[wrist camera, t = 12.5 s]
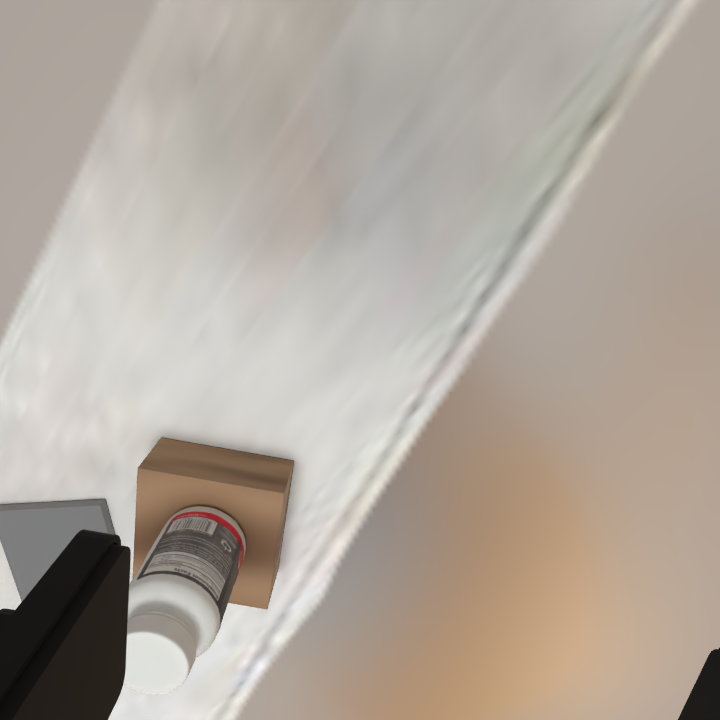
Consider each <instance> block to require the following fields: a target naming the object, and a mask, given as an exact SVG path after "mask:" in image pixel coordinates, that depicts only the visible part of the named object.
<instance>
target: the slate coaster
mask: <svg viewBox="0 0 720 720" xmlns="http://www.w3.org/2000/svg"><path fill="white" fill-rule="evenodd" d="M83 529H85V530H91V531H96V532H102V533H108V534H114V535H115V532H114V529H113V525H112V521H111V518H110V514H109V510H108V507H107V503H106V499H96V500H78V501H60V502H41V503H23V504H5V505H0V540H1V543H2V546H3V549H4V552H5V555H6V558H7V560H8V563H9V566H10V569H11V572H12V575H13V578H14V580H15V583H16V586H17V589H18V592H19V595H20V598H21V600H22V601H23V600H24V599H25V598H26V596H27V595H28V594H29V593H30V591H31V590H32V589H33V588H34V586H35V585H36V584H37V583H38V581H39V580H40V579H41V578H42V576H43V575H44V574H45V573H46V571H47V570H48V569H49V568H50V566H51V565H52V564H53V563H54V561H55V560H56V559H57V558H58V556H59V555H60V554H61V553H62V551H63V550H64V549H65V548H66V546H67V545H68V544H69V543H70V541H71V540H72V539H73V538H74V536H75V535H76V534H77V533H78V532H79V531H80V530H83Z"/></svg>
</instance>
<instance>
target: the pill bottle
mask: <svg viewBox="0 0 720 720" xmlns="http://www.w3.org/2000/svg"><path fill="white" fill-rule="evenodd" d="M245 551H246V542H245V537H244V534H243V532H242V530H241V529H240V527H239V525H238V524H237V522H236V521H235V520H234V519H232V518H231V517H230V516H228V515H227V514H225V513H223V512H222V511H219V510H217V509H214V508H210V507H202V506H196V507H189V508H186V509H183V510H180V511H179V512H177V513H176V514H174V515H173V516H172V517H171V518H170V519H169V520H168V521H167V523H166V524H165V526H164V527H163V529H162V530H161V532H160V534H159V536H158V537H157V539H156V541H155V542H154V544H153V545H152V547H151V549H150V551H149V552H148V554H147V556H146V558H145V560H144V562H143V564H142V565H141V567H140V569H139V570H138V572H137V574H136V575H135V577H134V578H133V580H132V582H131V583H130V585H129V601H128V624H127V647H126V670H125V678H124V683H123V684H124V685H125V686H127V687H129V688H131V689H133V690H135V691H138V692H141V693H145V694H152V695H159V694H165V693H168V692H171V691H173V690H175V689H177V688H178V687H180V686H181V685H182V684H183V683H184V681H185V680H186V679H187V677H188V675H189V673H190V670H191V668H192V665H193V663H194V661H195V658H196V657H198V656H200V655H201V654H202V653H204V652H205V651H206V650H207V649H208V648H209V647H210V646H211V644H212V643H213V641H214V639H215V637H216V635H217V633H218V631H219V629H220V625H221V622H222V619H223V615H224V613H225V610H226V607H227V604H228V601H229V598H230V595H231V593H232V590H233V587H234V584H235V582H236V579H237V576H238V573H239V571H240V568H241V565H242V562H243V559H244V555H245Z"/></svg>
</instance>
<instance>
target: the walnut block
mask: <svg viewBox="0 0 720 720" xmlns="http://www.w3.org/2000/svg"><path fill="white" fill-rule="evenodd" d="M293 465H294V461H292V460H286V459H281V458H275V457H269V456H263V455H258V454H252V453H246V452H241V451H235V450H229V449H223V448H218V447H212V446H206V445H201V444H195V443H189V442H183V441H178V440H172V439H166V438H161V439H160V440H159V441H158V443H157V444H156V445H155V447H154V448H153V449H152V450H151V452H150V453H149V454H148V456H147V457H146V458H145V459H144V461H143V462H142V463H141V465H140V466H139V467H138V475H137V496H136V518H135V540H134V562H133V578H134V577H135V575H136V574H137V572H138V570H139V569H140V567H141V565H142V564H143V562H144V560H145V558H146V556H147V554H148V552H149V551H150V549H151V547H152V545H153V544H154V542H155V541H156V539H157V537H158V536H159V534H160V532H161V530H162V529H163V527H164V526H165V524H166V523H167V521H168V520H169V519H170V518H171V517H172V516H173V515H174V514H176V513H177V512H179V511H180V510H183V509H186V508H189V507H196V506H202V507H210V508H214V509H217V510H219V511H222V512H223V513H225V514H227V515H228V516H230V517H231V518H232V519H234V520H235V521H236V522H237V524H238V525H239V527H240V529H241V530H242V532H243V534H244V537H245V542H246V551H245V555H244V559H243V562H242V565H241V568H240V571H239V573H238V576H237V579H236V582H235V584H234V587H233V590H232V593H231V595H230V598H229V601H228V603H233V604H239V605H245V606H251V607H256V608H262V609H268V605H269V601H270V598H271V594H272V590H273V586H274V583H275V579H276V575H277V572H278V567H279V560H280V553H281V547H282V540H283V533H284V526H285V520H286V513H287V506H288V499H289V492H290V486H291V479H292V472H293Z"/></svg>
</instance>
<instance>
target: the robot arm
mask: <svg viewBox="0 0 720 720" xmlns="http://www.w3.org/2000/svg"><path fill="white" fill-rule="evenodd" d="M129 578H130V548H129V547H126V546H121V540H120V537H119V536H118V535H114V534H108V533H102V532H96V531H91V530H85V529H83V530H80V531H79V532H78V533H77V534H76V535H75V536H74V538H73V539H72V540H71V541H70V543H69V544H68V545H67V546H66V548H65V549H64V550H63V551H62V553H61V554H60V555H59V556H58V558H57V559H56V560H55V561H54V563H53V564H52V565H51V566H50V568H49V569H48V570H47V571H46V573H45V574H44V575H43V576H42V578H41V579H40V580H39V581H38V583H37V584H36V585H35V586H34V588H33V589H32V590H31V591H30V593H29V594H28V595H27V596H26V598H25V599H24V600H23V601H22V602H21V604H20V605H19V606H18V607H17V609H16V610H11V609H1V610H0V720H108V718H109V716H110V714H111V712H112V710H113V708H114V706H115V704H116V702H117V700H118V697H119V695H120V692H121V689H122V686H123V683H124V678H125V670H126V647H127V624H128V601H129ZM678 720H720V648H719V649H715V650H713V651H711V653H710V654H709V656H708V658H707V660H706V662H705V664H704V666H703V668H702V671H701V673H700V675H699V677H698V679H697V681H696V683H695V685H694V687H693V689H692V691H691V693H690V696H689V698H688V700H687V702H686V704H685V706H684V708H683V710H682V712H681V715H680V717H679V719H678Z"/></svg>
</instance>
